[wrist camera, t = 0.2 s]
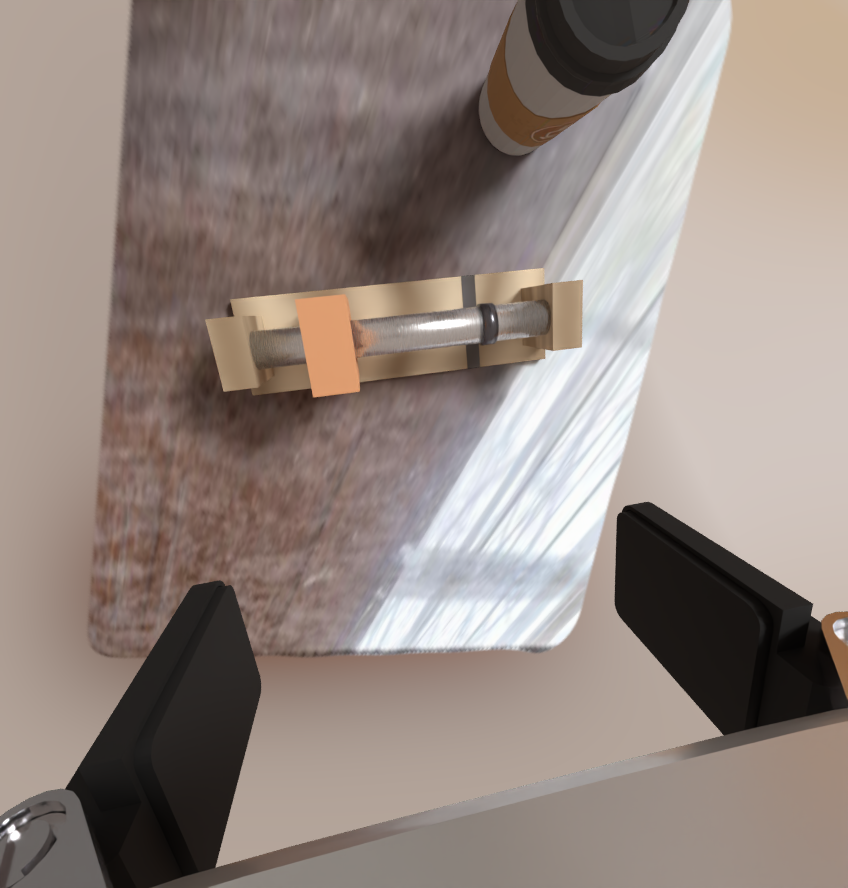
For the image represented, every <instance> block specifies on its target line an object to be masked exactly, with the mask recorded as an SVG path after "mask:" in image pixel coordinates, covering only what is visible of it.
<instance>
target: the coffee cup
mask: <svg viewBox="0 0 848 888" xmlns="http://www.w3.org/2000/svg"><path fill="white" fill-rule="evenodd" d="M688 3H689V0H518V2H517V4H516V6H515V8H514V10H513V12H512V14H511V16H510V18H509V21H508V23H507V26H506V28H505V30H504V33H503V35H502V38H501V40H500V43H499V45H498V48H497V50H496V53H495V55H494V58H493V60H492V63H491V66H490V70H489V73H488V75H487V78H486V80H485V83H484V85H483V87H482V91H481V95H480V99H479V116H480V122H481V126H482V128H483V131H484V133H485V136H486V137H487V138H488V140H489V141H490V142H491V144H492V145H493V146H495V147H496V148H497V149H498V150H500V151H501V152H504V153H506V154H509V155H519V156H520V155H523V154H527V153H530V152H532V151H533V150H535V149H537V148H538V147H540V146H541V145H543V144H544V143H546V142H548V141H549V140H551V139H553V138H554V137H555V136H557V135H558V134H560V133H561V132H562V131H564V130H565V129H567V128H568V127H569V126H571V125H572V124H574V123H575V122H576V121H578V120H579V119H581V118H582V117H583V116H585V115H586V114H588V113H589V112H590V111H592V110H593V109H595V108H596V107H597V106H598V105H599V104H600V103H601V102H602V101H603V100H605V99H606V98H607V97H609V96H610V95H611V94H613V93H617V92H620V91H621V90H623V89H625V88H626V87H628V86H629V85H631V84H633V83H634V82H636V81H637V80H638V79H639V78H640V77H641V75H642V74H643V73H644V72H645V71H646V70H647V69H648V68H649V67H650V66H651V64H652V63H653V62H654V61H655V60H656V59H657V58H658V57H659V56H660V55H661V54H662V53H663V51H664V50H665V48H666V46H667V45H668V43H669V41H670V40H671V38H672V36H673V35H674V33H675V31H676V28H677V26H678V23H679V22H680V20H681V18H682V17H683V15H684V13H685V11H686V9H687V6H688Z"/></svg>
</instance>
